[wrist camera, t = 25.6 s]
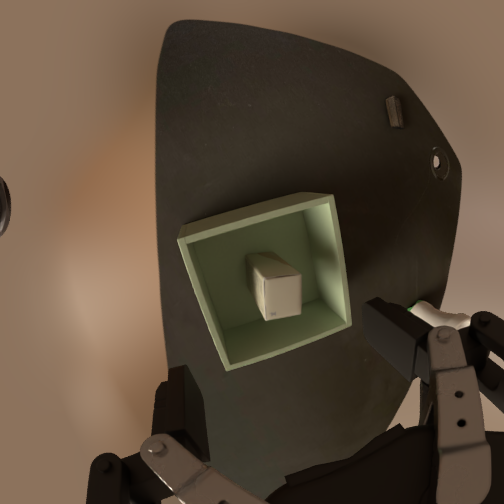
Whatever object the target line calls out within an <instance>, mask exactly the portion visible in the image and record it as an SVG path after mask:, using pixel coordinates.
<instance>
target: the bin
mask: <svg viewBox="0 0 504 504" xmlns="http://www.w3.org/2000/svg"><path fill="white" fill-rule="evenodd" d="M177 241H178V244H179V247H180V250H181V253H182V256H183V259H184V262H185V265H186V268H187V271H188V274H189V276H190V279H191V282H192V285H193V288H194V291H195V293H196V296H197V299H198V301H199V304H200V307H201V309H202V312H203V315H204V317H205V320H206V323H207V325H208V328H209V330H210V333H211V335H212V338H213V340H214V343H215V345H216V348H217V350H218V353H219V355H220V357H221V360H222V362H223V365H224V367H225V369H226V371H229V370H232V369H235V368H239V367H242V366H245V365H248V364H252V363H255V362H258V361H261V360H264V359H267V358H270V357H273V356H275V355H278V354H281V353H284V352H287V351H289V350H292V349H295V348H298V347H300V346H303V345H305V344H308V343H311V342H313V341H316V340H318V339H321V338H323V337H325V336H328V335H330V334H333V333H335V332H337V331H340V330H342V329H344V328H346V327H349V326H351V325H352V322H351V311H350V301H349V291H348V283H347V275H346V267H345V260H344V253H343V246H342V240H341V234H340V228H339V222H338V217H337V211H336V206H335V201H334V196H333V195H332V194H322V193H311V192H298V193H294V194H290V195H287V196H283V197H279V198H275V199H271V200H268V201H264V202H260V203H257V204H253V205H250V206H246V207H242V208H239V209H235V210H232V211H229V212H225V213H222V214H218V215H215V216H212V217H208V218H205V219H202V220H198V221H195V222H192V223H189V224H185V225H182V228H181V230H180V233H179V236H178V239H177ZM262 252H274V253H276V254H277V255H278V256H279V257H281V258H282V259H283V260H284V261H286V262H287V263H288V264H289V265H291V266H292V267H293V268H294V269H296V270H297V271H298V272H299V273H301V275H302V276H301V278H302V308H301V314H300V315H295V316H290V317H285V318H279V319H273V320H265V318H264V317H263V315H262V313H261V311H260V310H259V308H258V306H257V304H256V302H255V300H254V298H253V297H252V295H251V293H250V291H249V289H248V287H247V279H246V267H245V255H246V254H252V253H262Z"/></svg>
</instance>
